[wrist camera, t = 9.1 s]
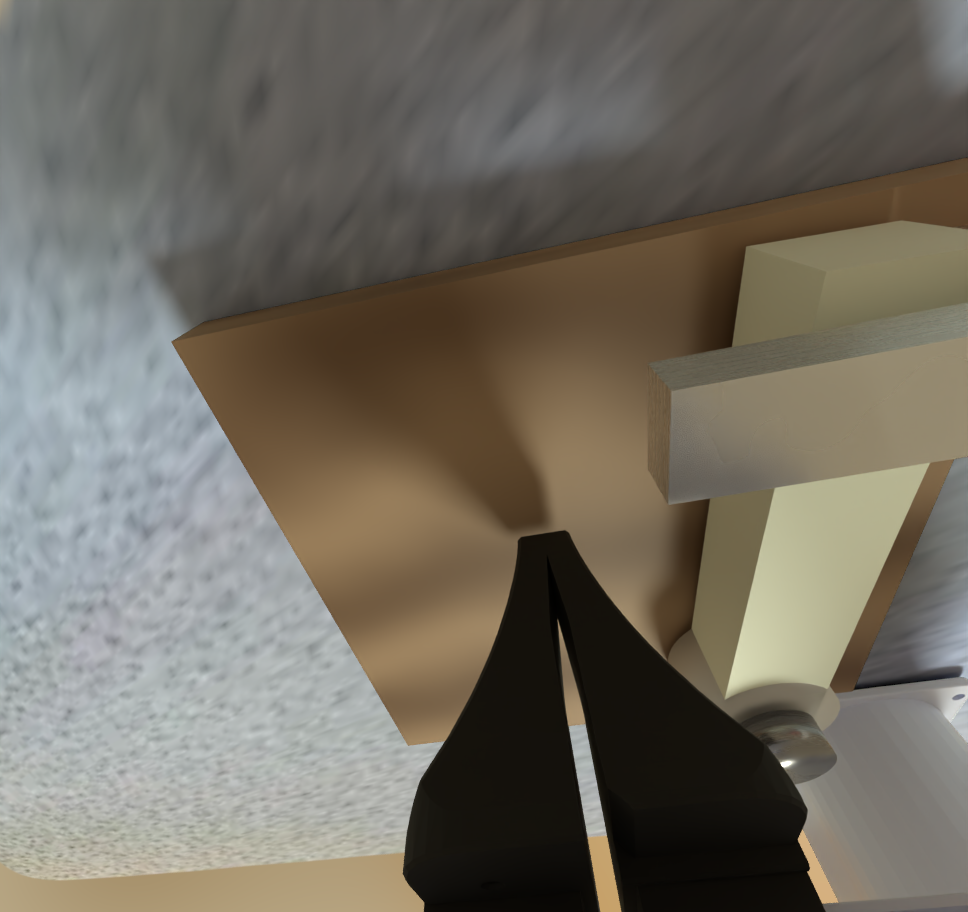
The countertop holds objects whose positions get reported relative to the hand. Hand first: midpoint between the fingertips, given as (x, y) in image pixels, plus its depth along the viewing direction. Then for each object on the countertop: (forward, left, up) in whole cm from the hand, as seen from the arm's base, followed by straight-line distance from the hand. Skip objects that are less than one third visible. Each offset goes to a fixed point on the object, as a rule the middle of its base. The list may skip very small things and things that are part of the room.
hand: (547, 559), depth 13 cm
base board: (-2, -2, -3) cm, 4 cm away
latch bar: (-1, -6, -1) cm, 6 cm away
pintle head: (-7, -6, +2) cm, 9 cm away
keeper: (+6, -6, -1) cm, 8 cm away
